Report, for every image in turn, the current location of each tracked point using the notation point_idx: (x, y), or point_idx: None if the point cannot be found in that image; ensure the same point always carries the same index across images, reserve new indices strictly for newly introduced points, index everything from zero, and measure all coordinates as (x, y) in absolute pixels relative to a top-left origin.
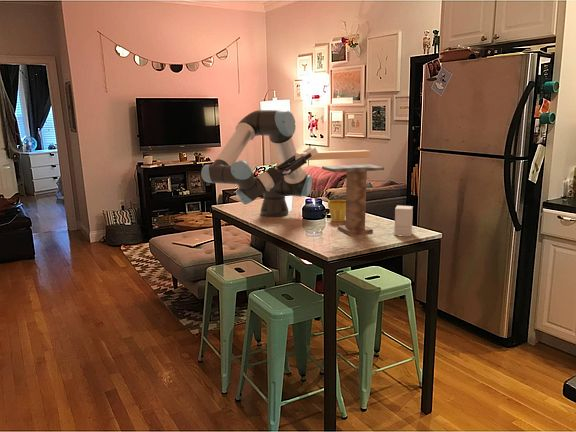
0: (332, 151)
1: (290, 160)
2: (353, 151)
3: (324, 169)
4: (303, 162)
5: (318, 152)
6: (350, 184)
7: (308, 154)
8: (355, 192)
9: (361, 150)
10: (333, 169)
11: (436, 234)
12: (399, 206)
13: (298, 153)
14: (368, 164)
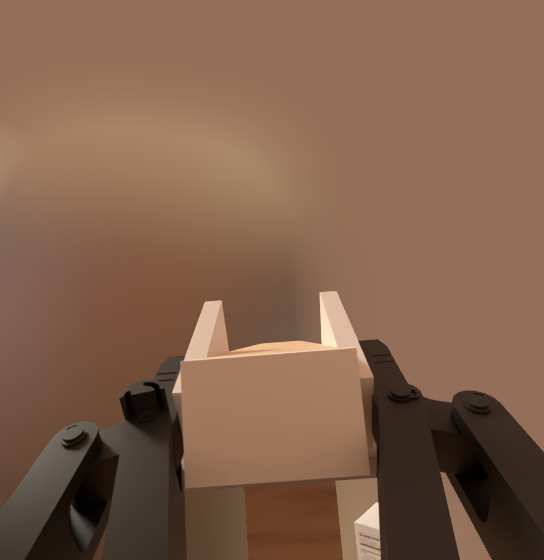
0: (257, 346)
1: (162, 550)
2: (302, 341)
3: (218, 487)
4: (485, 474)
5: (290, 346)
6: (294, 518)
7: (382, 354)
8: (341, 550)
9: (269, 343)
10: (373, 456)
11: None
12: (376, 522)
13: (322, 354)
14: None
